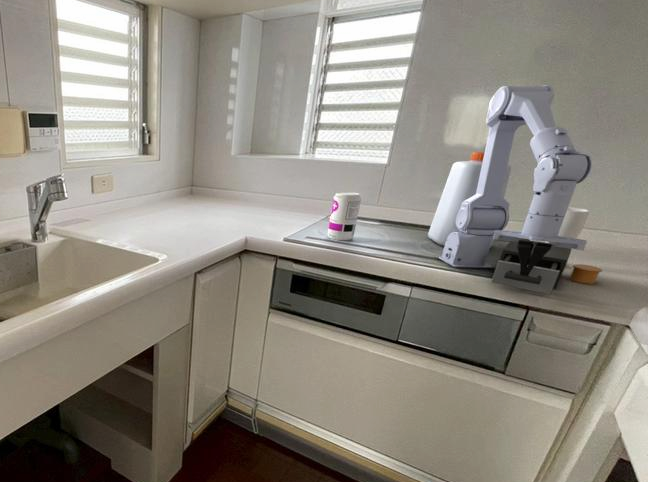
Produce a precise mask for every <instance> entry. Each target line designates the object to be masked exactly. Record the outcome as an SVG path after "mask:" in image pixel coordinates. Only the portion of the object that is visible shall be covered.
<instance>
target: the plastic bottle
mask: <svg viewBox="0 0 648 482" xmlns="http://www.w3.org/2000/svg"><path fill="white" fill-rule="evenodd" d="M484 154H485V151H473V152H472V153H471V155H470V159H469V160H464V161H460V160H459V161H456V162H454V163H453V164H452V166H451V169H450V171H449V174H448V177H447V180H446V183H445V186H444V187H443V190H442V194H441V197H440V199H439V202H438V205H437V208H436V210H435V213H434V216H433V219H432V222H431V225H430V228H429V230H428V233H427V237H428V238H429V239H430V240H431V241H433V242H435V243H436V244H438V245H440V246H443V247H444V246H445V243H446V239H447V237H448V236H449V234H450V233H453V232H459V231H460V230H458V228H457V226H456V217H457V214H458V212H459V210H460V207H461V204H462V202H464V201H465V200H467V199H469V198H471V197H472V196H474V195H476V192H477V187H478V182H479V177H480V173H481V168H482V163H483V158H484ZM511 172H512V167H511V165H510V164H508V165H507V169H506V174H505V178H504V183H503V187H502V192H501V196H502V197H503V198H504V199H505V197H506V191H507V188H508V183H509V179H510V176H511ZM476 207H477V208H493V207H492V206H476ZM494 241H495V239H493V240H492V243H491V246H490V248H491V247H493V244H494Z"/></svg>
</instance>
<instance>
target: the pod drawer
mask: <svg viewBox="0 0 648 482" xmlns="http://www.w3.org/2000/svg"><path fill="white" fill-rule="evenodd" d="M530 259H531V258H529V261H528V264H529V262H530ZM558 263H559V262H554V261H548V260H542V259H540V260H539V261H538V262H537V263H536V265H535V266H534V267H533V268H532V270H531V272H530V273H529V276H525V275H520V257H519V256H517V255H511V254H509V255H508V256H507V257H506V258H505V260H504V261H501V260H499V259H498V261H497V264H496V267H495V270H494V273H493V275H492V278H491V281H490V282H491V283H493V284H496V285H497V284H498V285H502V286H506V287H507V286H508V287H512V288H517V289H522V290H526V291H531V292H537V293H542V294H547V295H551V293H552V291H553V286H554V284H555V282H556V279H557V277H558V274H559V272H560V271H559V270H556V268H557V265H558ZM527 267H528V265H527Z"/></svg>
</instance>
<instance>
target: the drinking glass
mask: <svg viewBox="0 0 648 482" xmlns="http://www.w3.org/2000/svg"><path fill="white" fill-rule="evenodd" d="M589 214H590V210H589V209H585V208H579V207H571V206H568V209H567V212H566V215H565V217H564V220H563V223H562V225H561V228H560V231H559V234H558V236H560V237H567V238H574V239H578V238H579V236H580V234H581V232H582V230H583V229H584V227H585V224H586V222H587V220H588V217H589ZM543 242H545V241H543ZM545 243H549V242H545ZM570 249H571V248H570ZM571 250H572V249H571Z"/></svg>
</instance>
